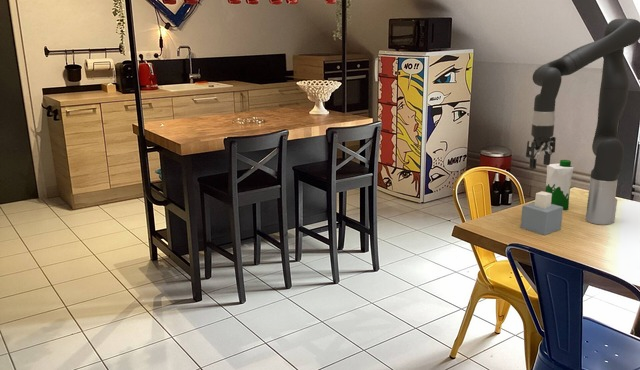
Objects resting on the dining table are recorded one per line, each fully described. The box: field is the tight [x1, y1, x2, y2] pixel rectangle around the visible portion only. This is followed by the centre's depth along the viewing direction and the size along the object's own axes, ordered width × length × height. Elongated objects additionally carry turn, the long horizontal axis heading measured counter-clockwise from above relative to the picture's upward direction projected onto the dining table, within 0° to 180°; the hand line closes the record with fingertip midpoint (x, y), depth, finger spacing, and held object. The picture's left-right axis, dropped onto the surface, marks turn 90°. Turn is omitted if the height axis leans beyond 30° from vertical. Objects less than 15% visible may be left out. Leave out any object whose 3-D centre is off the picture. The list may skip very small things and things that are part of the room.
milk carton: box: [544, 159, 575, 211], centre depth 229 cm, size 9×9×20 cm
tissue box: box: [520, 190, 564, 236], centre depth 207 cm, size 10×10×14 cm
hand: (539, 166), depth 204 cm, fingers open, 8 cm apart
